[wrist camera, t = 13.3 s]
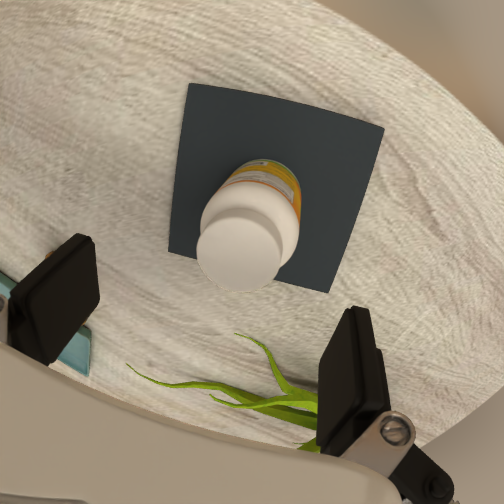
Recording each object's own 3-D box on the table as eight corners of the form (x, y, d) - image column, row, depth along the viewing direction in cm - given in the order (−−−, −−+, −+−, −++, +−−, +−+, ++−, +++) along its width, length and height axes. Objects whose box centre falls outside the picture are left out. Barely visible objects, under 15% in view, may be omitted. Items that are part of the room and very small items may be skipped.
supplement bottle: (275, 240, 25) (256, 322, 16) (215, 203, 24) (165, 269, 16) (316, 184, 22) (320, 246, 14) (251, 143, 22) (213, 179, 13)
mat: (193, 83, 21) (188, 83, 20) (381, 127, 20) (385, 128, 19) (172, 246, 28) (167, 251, 27) (327, 287, 27) (328, 293, 26)
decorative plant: (211, 263, 28) (140, 396, 15) (405, 406, 34) (417, 510, 21) (132, 352, 36) (77, 447, 24) (304, 453, 42) (294, 537, 29)
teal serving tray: (97, 329, 36) (88, 342, 33) (95, 368, 40) (87, 380, 38) (-30, 242, 34) (-40, 250, 32) (-22, 285, 39) (-31, 293, 36)
